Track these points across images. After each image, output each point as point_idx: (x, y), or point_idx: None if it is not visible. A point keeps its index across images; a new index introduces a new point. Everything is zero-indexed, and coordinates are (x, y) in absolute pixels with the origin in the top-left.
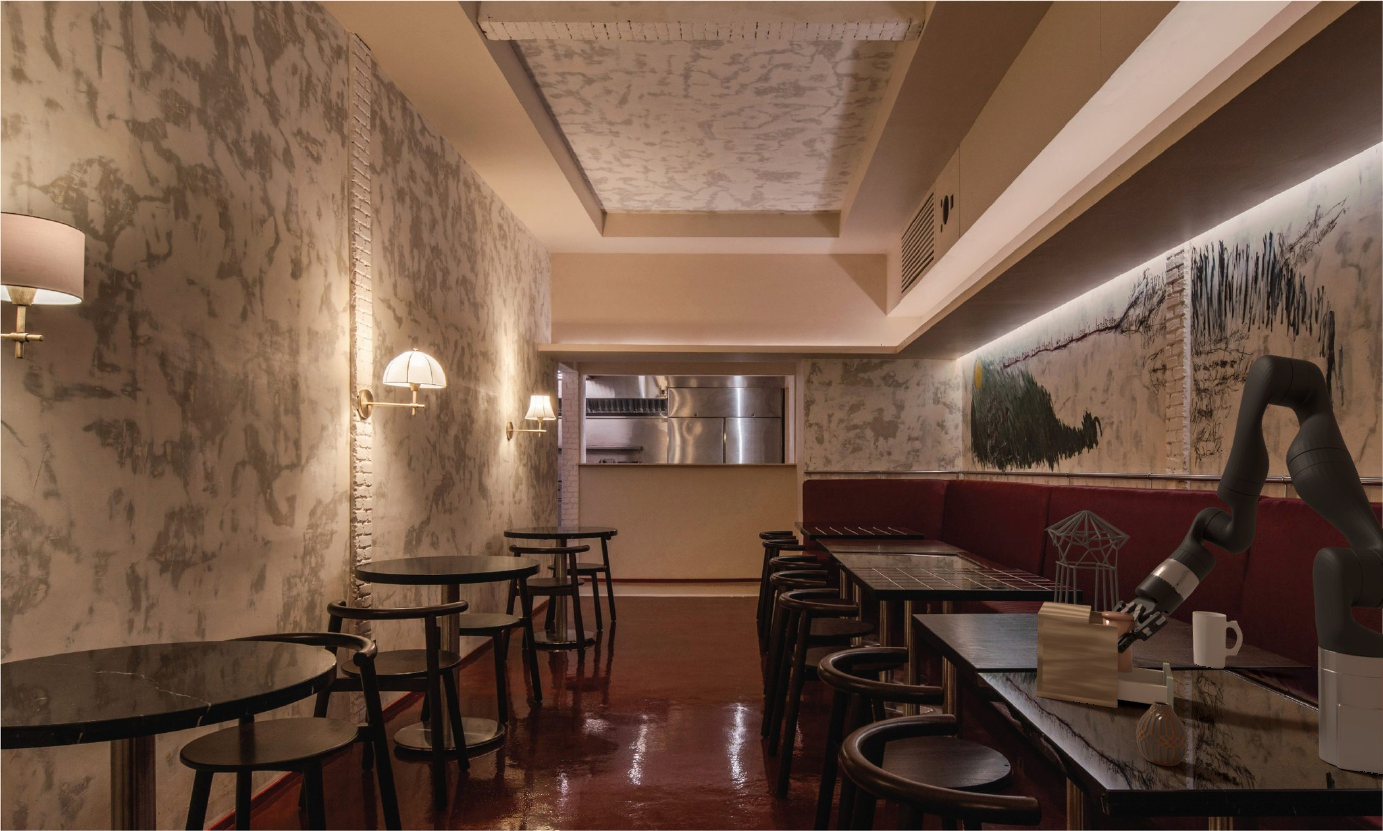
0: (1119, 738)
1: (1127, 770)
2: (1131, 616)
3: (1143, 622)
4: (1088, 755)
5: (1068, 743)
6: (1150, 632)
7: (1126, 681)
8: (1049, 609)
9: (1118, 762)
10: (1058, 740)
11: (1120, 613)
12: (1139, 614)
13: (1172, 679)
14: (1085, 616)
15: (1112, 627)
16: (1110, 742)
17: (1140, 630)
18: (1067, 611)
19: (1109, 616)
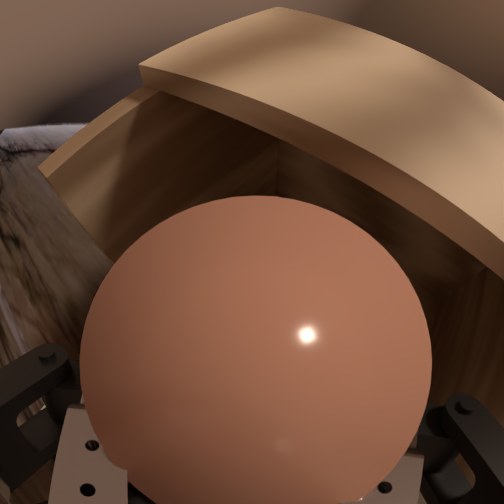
0: (41, 195)
1: (4, 155)
2: (85, 406)
3: (3, 400)
4: (36, 139)
5: (64, 134)
6: (29, 433)
7: None
8: (392, 50)
9: (14, 156)
10: (74, 128)
11: (282, 417)
12: (55, 489)
13: (43, 408)
14: (192, 66)
15: (59, 154)
16: (41, 176)
17: (27, 359)
18: (359, 69)
19: (197, 213)
